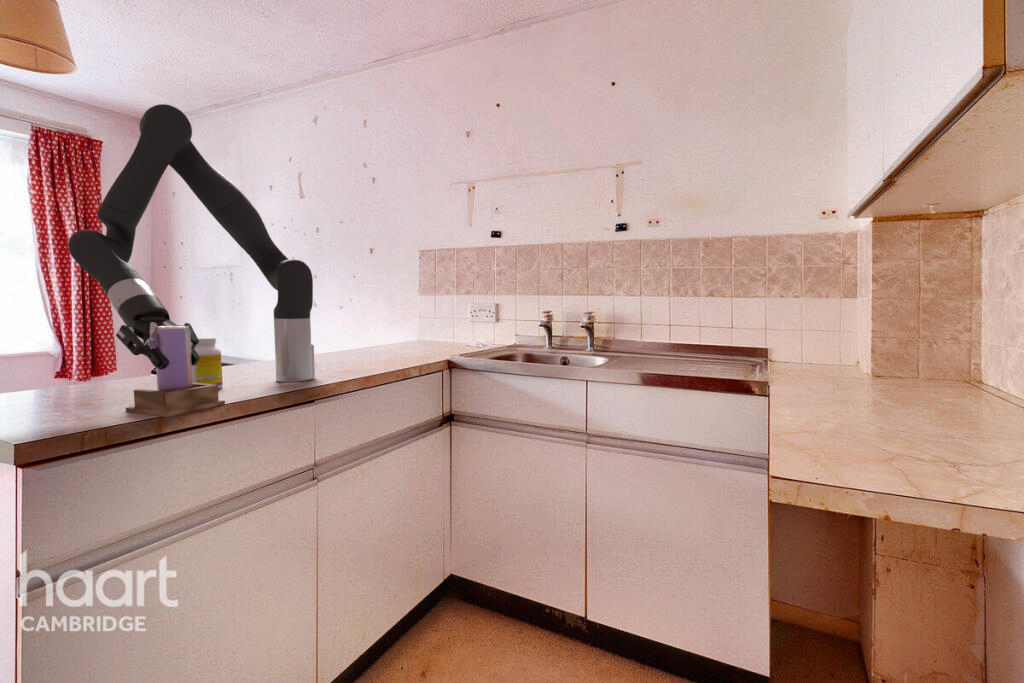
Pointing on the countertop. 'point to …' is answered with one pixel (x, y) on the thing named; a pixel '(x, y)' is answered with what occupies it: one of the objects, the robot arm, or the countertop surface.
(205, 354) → the supplement bottle
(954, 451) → the countertop surface
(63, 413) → the countertop surface
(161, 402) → the cradle
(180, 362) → the lavender tall block
